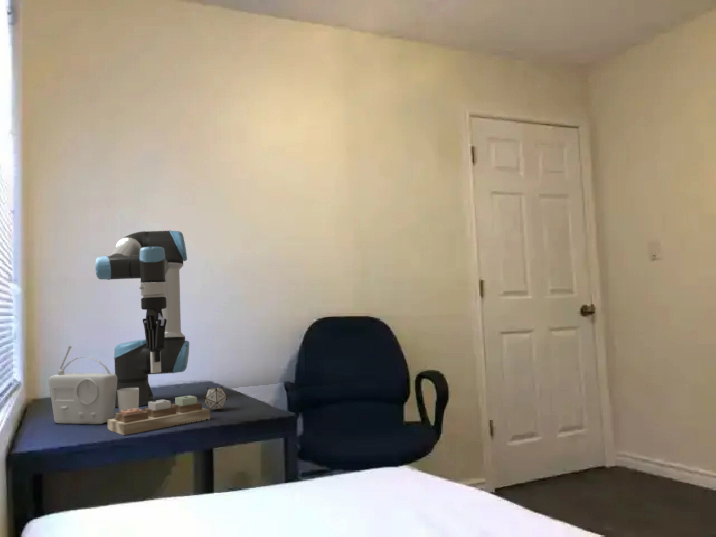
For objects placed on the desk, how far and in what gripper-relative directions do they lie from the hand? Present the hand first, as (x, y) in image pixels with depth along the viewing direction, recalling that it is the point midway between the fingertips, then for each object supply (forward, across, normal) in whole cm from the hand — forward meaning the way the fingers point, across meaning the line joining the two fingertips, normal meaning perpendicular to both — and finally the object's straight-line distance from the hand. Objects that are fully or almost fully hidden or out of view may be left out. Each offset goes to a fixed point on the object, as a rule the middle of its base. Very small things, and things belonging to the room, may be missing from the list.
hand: (156, 372), depth 203 cm
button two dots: (+12, 0, +1) cm, 12 cm away
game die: (+17, -7, +23) cm, 29 cm away
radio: (+16, -23, -15) cm, 32 cm away
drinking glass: (+16, -14, -4) cm, 22 cm away
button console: (+16, 0, +1) cm, 16 cm away
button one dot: (+12, 0, +10) cm, 15 cm away
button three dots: (+13, +1, -8) cm, 15 cm away
